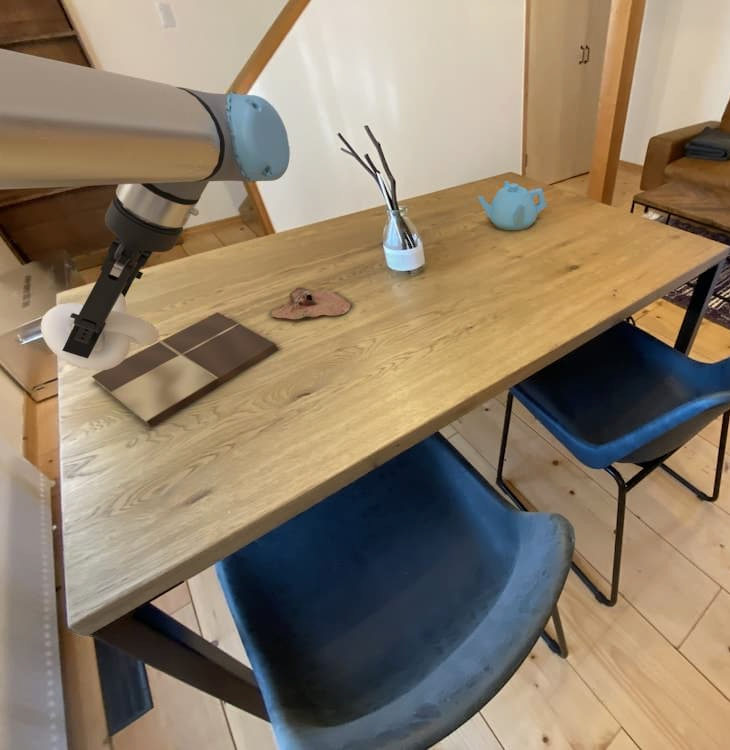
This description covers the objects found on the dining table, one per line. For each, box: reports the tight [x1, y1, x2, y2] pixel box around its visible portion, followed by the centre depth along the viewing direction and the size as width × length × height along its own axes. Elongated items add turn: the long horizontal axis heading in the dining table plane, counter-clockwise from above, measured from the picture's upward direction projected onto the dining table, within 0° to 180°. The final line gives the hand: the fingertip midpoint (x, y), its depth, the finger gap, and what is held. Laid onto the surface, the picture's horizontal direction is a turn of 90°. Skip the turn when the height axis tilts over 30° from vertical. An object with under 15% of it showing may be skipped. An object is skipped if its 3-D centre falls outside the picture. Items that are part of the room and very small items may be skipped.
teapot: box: [477, 180, 547, 231], centre depth 125 cm, size 15×15×11 cm
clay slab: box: [271, 287, 352, 320], centre depth 95 cm, size 15×13×3 cm
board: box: [91, 312, 279, 428], centre depth 82 cm, size 24×20×2 cm
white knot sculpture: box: [40, 293, 160, 372], centre depth 64 cm, size 11×12×9 cm
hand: (92, 328), depth 64 cm, fingers closed on white knot sculpture, 11 cm apart
